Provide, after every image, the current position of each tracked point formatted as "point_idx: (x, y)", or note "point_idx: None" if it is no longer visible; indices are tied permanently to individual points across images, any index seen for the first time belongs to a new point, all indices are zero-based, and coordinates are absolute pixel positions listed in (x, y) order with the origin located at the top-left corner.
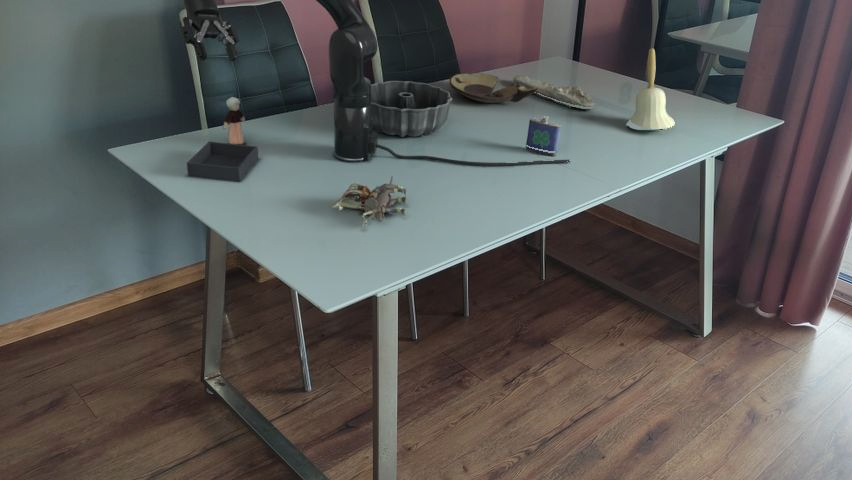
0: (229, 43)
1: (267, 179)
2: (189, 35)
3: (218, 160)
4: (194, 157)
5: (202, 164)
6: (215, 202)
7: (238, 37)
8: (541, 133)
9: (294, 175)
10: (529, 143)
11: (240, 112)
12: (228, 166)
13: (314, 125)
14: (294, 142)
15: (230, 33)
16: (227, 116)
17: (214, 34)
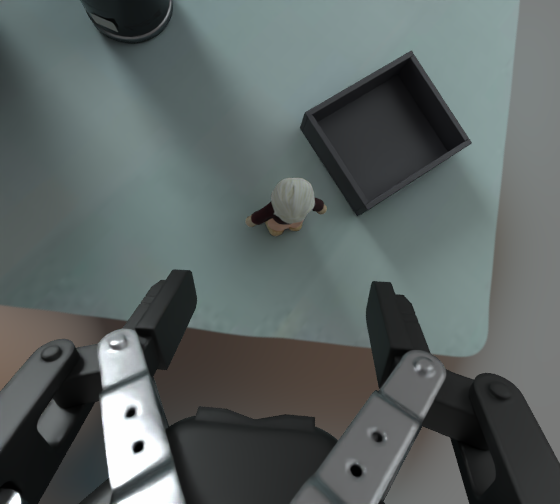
0: (145, 347)
1: (351, 43)
2: (526, 409)
3: (370, 170)
4: (444, 155)
5: (453, 115)
6: (478, 37)
7: (21, 368)
8: None
9: (300, 21)
10: None
11: (264, 207)
12: (420, 72)
13: (46, 198)
14: (171, 147)
15: (35, 445)
16: (317, 200)
17: (241, 416)
